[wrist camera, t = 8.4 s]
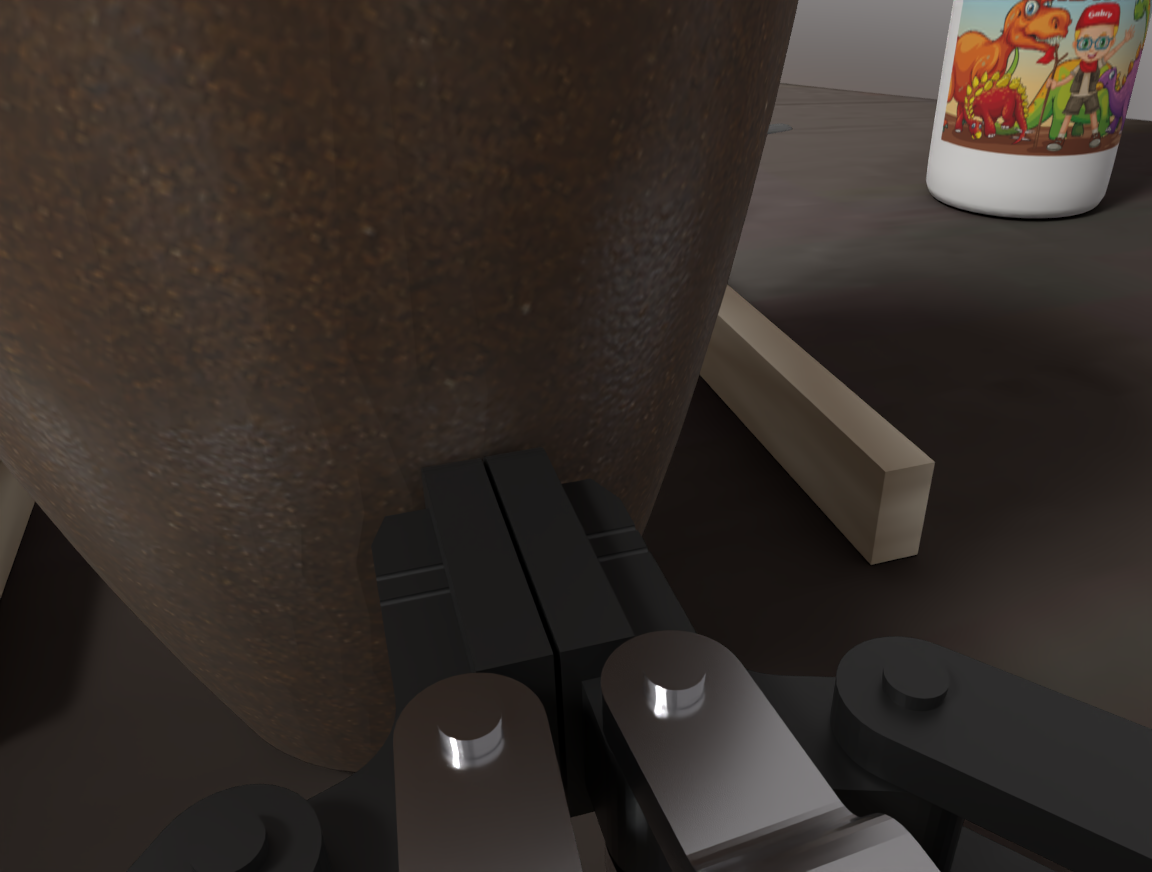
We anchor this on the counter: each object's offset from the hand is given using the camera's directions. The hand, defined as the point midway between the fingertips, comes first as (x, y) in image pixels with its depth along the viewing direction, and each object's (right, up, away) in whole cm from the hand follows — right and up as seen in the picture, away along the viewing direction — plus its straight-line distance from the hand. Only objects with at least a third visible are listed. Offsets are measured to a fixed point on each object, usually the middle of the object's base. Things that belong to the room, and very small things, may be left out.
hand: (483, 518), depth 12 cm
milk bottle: (+21, +12, +33) cm, 41 cm away
